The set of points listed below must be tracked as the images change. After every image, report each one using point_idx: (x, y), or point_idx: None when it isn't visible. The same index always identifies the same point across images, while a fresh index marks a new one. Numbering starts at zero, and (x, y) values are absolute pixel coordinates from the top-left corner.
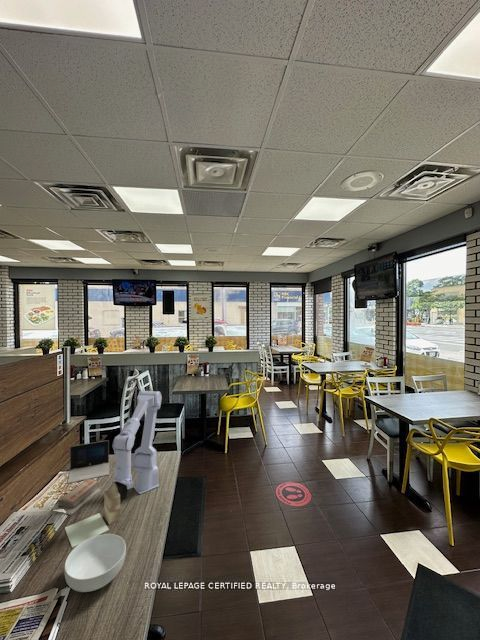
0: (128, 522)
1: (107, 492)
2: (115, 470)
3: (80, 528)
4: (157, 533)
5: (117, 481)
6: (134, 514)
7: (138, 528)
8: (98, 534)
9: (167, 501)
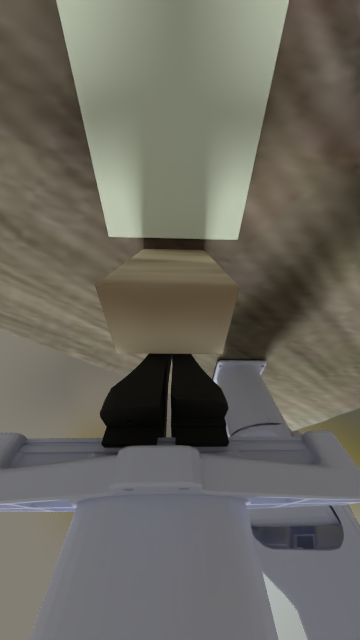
0: None
1: (203, 301)
2: (350, 499)
3: (200, 99)
4: (38, 337)
5: (113, 459)
6: None
7: (77, 312)
8: (97, 183)
9: None
